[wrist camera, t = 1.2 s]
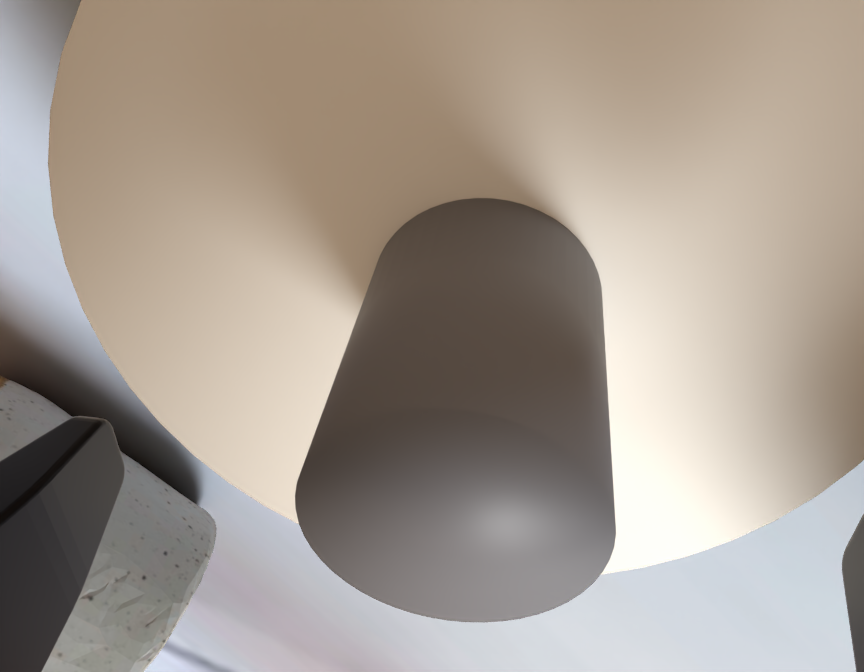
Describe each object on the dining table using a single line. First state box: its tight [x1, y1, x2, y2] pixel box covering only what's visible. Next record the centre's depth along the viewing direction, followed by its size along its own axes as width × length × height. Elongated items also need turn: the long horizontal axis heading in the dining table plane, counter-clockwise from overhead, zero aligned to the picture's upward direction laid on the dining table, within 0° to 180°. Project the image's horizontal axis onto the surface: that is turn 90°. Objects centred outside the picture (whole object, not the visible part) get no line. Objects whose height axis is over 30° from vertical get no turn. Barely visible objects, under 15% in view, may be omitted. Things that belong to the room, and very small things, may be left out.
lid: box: [48, 0, 864, 622], centre depth 11 cm, size 14×14×6 cm
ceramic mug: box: [0, 376, 216, 672], centre depth 23 cm, size 11×8×8 cm
